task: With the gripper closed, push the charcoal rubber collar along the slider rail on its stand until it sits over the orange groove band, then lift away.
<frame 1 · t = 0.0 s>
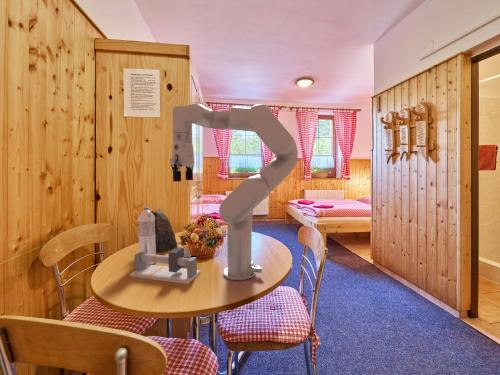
hand: (183, 180, 102), 37 cm above the table, tool pointing down, fingers open, 9 cm apart
water bottle: (148, 263, 109), on the table
slider rail stand: (165, 274, 98), on the table
skincare box: (192, 255, 119), on the table
collar: (176, 259, 96), point 7 cm above the table, slide at 0.0 cm
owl: (164, 248, 130), on the table
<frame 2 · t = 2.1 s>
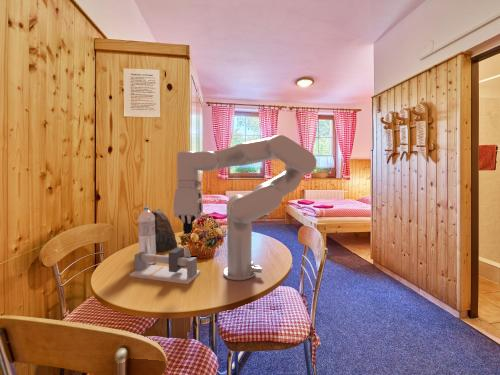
hand: (187, 233, 94), 17 cm above the table, tool pointing down, fingers closed
nothing on the table moved.
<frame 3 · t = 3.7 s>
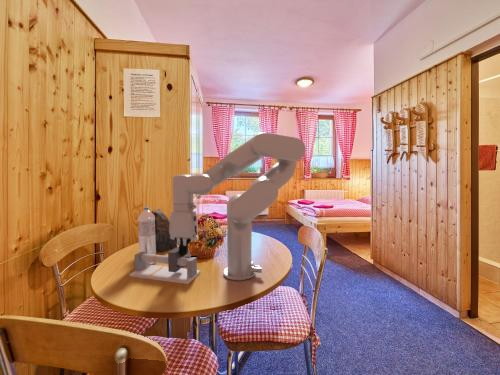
hand: (183, 254, 95), 9 cm above the table, tool pointing down, fingers closed
collar: (176, 259, 96), point 7 cm above the table, slide at 0.2 cm, touching gripper
everything else where it was.
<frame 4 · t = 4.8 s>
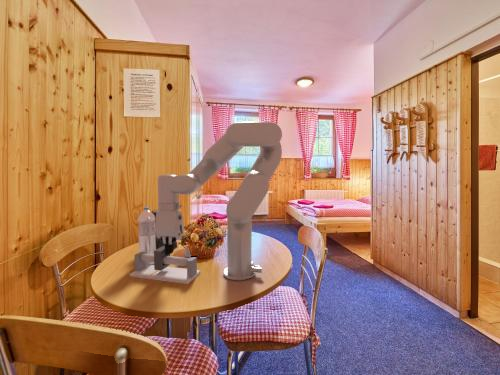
hand: (169, 253, 97), 9 cm above the table, tool pointing down, fingers closed
collar: (162, 257, 98), point 7 cm above the table, slide at 6.3 cm, touching gripper
everything else where it was.
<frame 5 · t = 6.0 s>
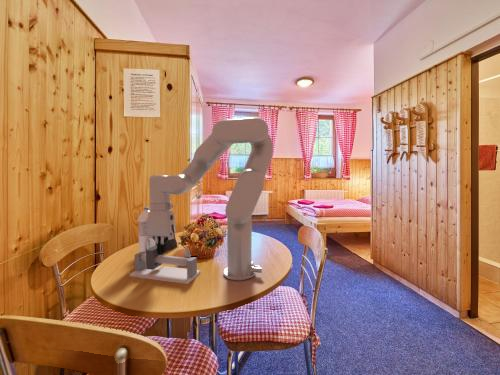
hand: (161, 252, 98), 9 cm above the table, tool pointing down, fingers closed
collar: (154, 257, 99), point 7 cm above the table, slide at 9.8 cm
everything else where it was.
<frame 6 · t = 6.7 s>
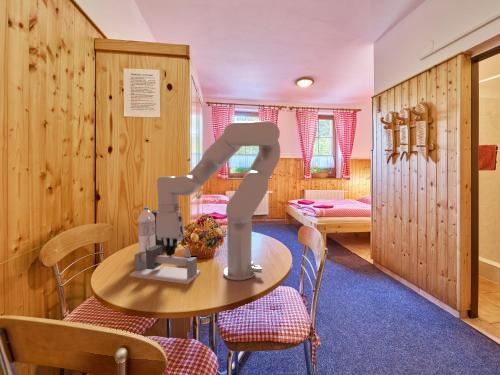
hand: (170, 254, 97), 8 cm above the table, tool pointing down, fingers closed
nothing on the table moved.
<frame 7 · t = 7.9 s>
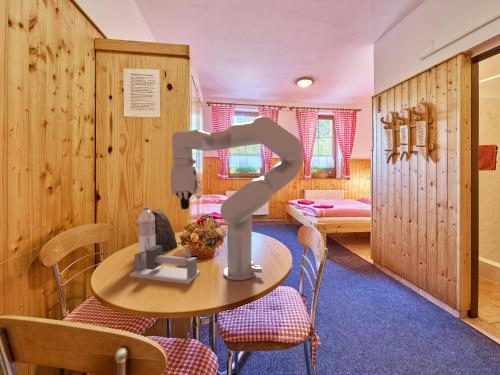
hand: (185, 208, 101), 25 cm above the table, tool pointing down, fingers closed
nothing on the table moved.
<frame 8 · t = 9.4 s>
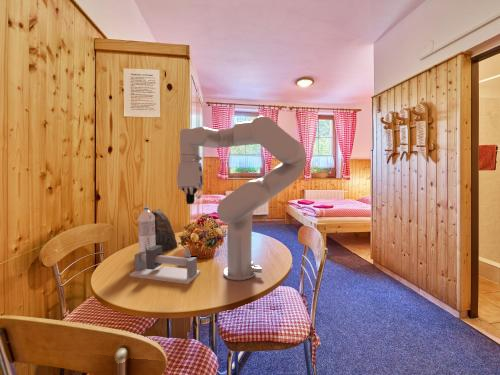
hand: (190, 203, 104), 27 cm above the table, tool pointing down, fingers closed
nothing on the table moved.
at the end: collar slide at 9.8 cm; the gripper is holding nothing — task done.
